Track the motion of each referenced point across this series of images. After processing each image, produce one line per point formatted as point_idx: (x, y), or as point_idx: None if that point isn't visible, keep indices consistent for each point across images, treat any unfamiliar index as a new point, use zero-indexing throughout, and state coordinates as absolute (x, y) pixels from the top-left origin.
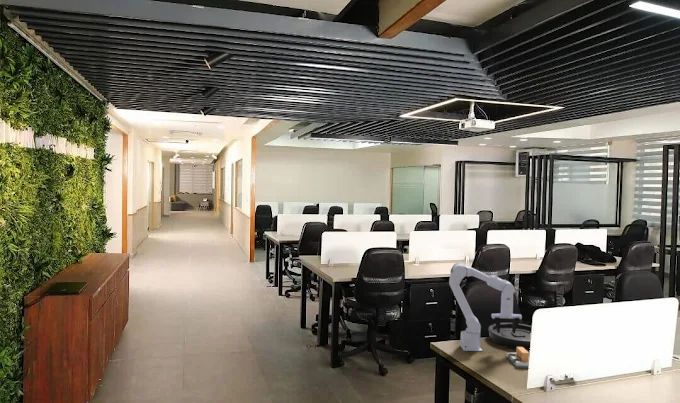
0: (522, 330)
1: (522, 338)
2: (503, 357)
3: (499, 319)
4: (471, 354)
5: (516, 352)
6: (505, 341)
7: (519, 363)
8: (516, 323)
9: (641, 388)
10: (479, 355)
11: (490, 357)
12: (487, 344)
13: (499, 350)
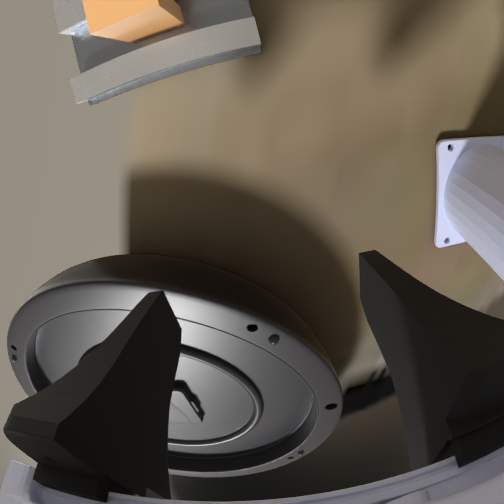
0: None
1: None
2: (291, 41)
3: (456, 427)
4: (499, 80)
5: (173, 13)
6: (250, 293)
7: None
8: (73, 392)
9: None
10: (461, 63)
11: (395, 27)
12: None
13: (304, 195)
